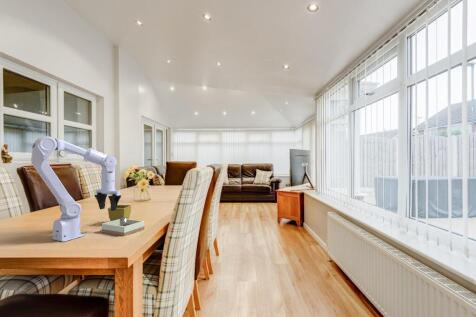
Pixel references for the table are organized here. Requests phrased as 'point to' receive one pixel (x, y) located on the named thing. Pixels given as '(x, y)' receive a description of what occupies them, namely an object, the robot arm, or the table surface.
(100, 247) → the table surface
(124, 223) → the peg
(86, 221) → the table surface
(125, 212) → the flower pot
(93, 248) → the table surface
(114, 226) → the box
